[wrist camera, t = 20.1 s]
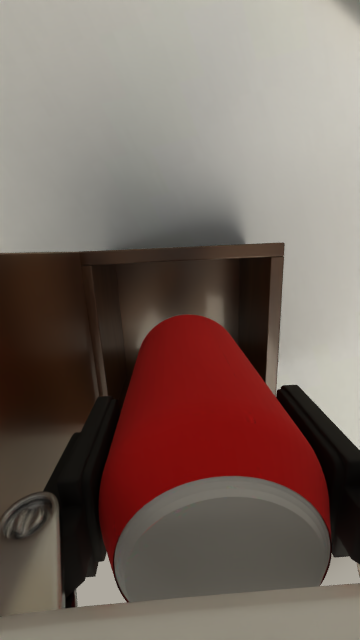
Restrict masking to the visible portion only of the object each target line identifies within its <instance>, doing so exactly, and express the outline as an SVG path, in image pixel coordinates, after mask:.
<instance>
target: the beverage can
mask: <svg viewBox="0 0 360 640" xmlns="http://www.w3.org/2000/svg"><path fill="white" fill-rule="evenodd" d="M98 507H99V522H100V528H101V533H102V537H103V541H104V544H105V548H106V551H107V554H108V557H109V561H110V564H111V568H112V571H113V574H114V578H115V581H116V583H117V586H118V588H119V590H120V592H121V594H122V596H123V597H124V599H125V600H126V601H127V603H128V602H139V601H151V600H162V599H173V598H184V597H196V596H208V595H220V594H232V593H244V592H256V591H268V590H280V589H293V588H305V587H318V586H320V585H321V583H322V582H323V580H324V578H325V576H326V574H327V571H328V568H329V565H330V560H331V553H332V544H331V525H330V507H329V494H328V489H327V484H326V480H325V477H324V474H323V471H322V468H321V465H320V463H319V461H318V459H317V456H316V454H315V452H314V450H313V449H312V447H311V445H310V444H309V442H308V441H307V439H306V438H305V437H304V435H303V434H302V432H301V431H300V430H299V428H298V427H297V426H296V424H295V423H294V421H293V420H292V419H291V417H290V416H289V415H288V413H287V412H286V411H285V409H284V408H283V406H282V405H281V404H280V402H279V401H278V400H277V398H276V397H275V395H274V394H273V393H272V391H271V390H270V389H269V387H268V386H267V384H266V383H265V382H264V380H263V379H262V378H261V376H260V375H259V374H258V372H257V371H256V369H255V368H254V367H253V365H252V364H251V363H250V361H249V360H248V358H247V357H246V356H245V354H244V353H243V352H242V350H241V349H240V347H239V346H238V345H237V343H236V342H235V341H234V339H233V338H232V337H231V335H230V334H229V333H228V331H227V330H226V329H225V328H224V327H222V326H221V325H220V324H218V323H217V322H215V321H213V320H211V319H209V318H206V317H203V316H199V315H189V314H185V315H177V316H173V317H170V318H168V319H166V320H164V321H162V322H160V323H159V324H157V325H156V326H155V327H154V328H153V329H152V330H151V331H150V332H149V333H148V334H147V336H146V337H145V339H144V340H143V342H142V344H141V347H140V350H139V353H138V356H137V360H136V363H135V366H134V370H133V373H132V376H131V380H130V383H129V387H128V390H127V393H126V397H125V400H124V403H123V407H122V410H121V413H120V417H119V420H118V423H117V427H116V430H115V433H114V437H113V440H112V444H111V447H110V450H109V454H108V457H107V460H106V464H105V467H104V470H103V474H102V478H101V483H100V489H99V504H98Z"/></svg>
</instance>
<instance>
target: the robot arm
mask: <svg viewBox="0 0 360 640" xmlns="http://www.w3.org/2000/svg"><path fill="white" fill-rule="evenodd" d="M276 398H277V400H278V401H279V402H280V404H281V405H282V406H283V408H284V409H285V411H286V412H287V413H288V415H289V416H290V417H291V419H292V420H293V421H294V423H295V424H296V426H297V427H298V428H299V430H300V431H301V432H302V434H303V435H304V437H305V438H306V439H307V441H308V442H309V444H310V445H311V447H312V449H313V450H314V452H315V454H316V456H317V459H318V461H319V463H320V465H321V468H322V471H323V474H324V477H325V480H326V484H327V489H328V494H329V507H330V525H331V544H332V554H333V556H334V557H346V556H350V557H351V559H352V560H354V561H355V562H357V567H358V572H359V576H360V450H359V449H358V448H357V447H356V446H355V445H354V444H353V443H352V442H351V441H350V440H349V439H348V438H347V437H346V436H345V435H344V434H343V432H342V431H341V430H340V429H339V428H338V427H337V426H336V425H335V424H334V423H333V422H332V421H331V420H330V419H329V418H328V417H327V416H326V415H325V414H324V412H323V411H322V410H321V409H320V408H319V407H318V406H317V405H316V404H315V403H314V402H313V401H312V400H311V399H310V398H309V397H308V396H307V395H306V394H305V393H304V391H303V390H302V389H301V388H300V387H299V386H298V385H284V386H282V387H281V389H278V390H277V395H276ZM119 417H120V409H119V402H118V399H114V398H113V396H102V397H98V398H97V400H96V402H95V404H94V406H93V408H92V410H91V412H90V414H89V416H88V418H87V420H86V422H85V424H84V426H83V428H82V430H81V432H76V433H74V434H73V435H72V437H71V438H70V440H69V442H68V444H67V446H66V448H65V450H64V452H63V454H62V456H61V458H60V459H59V461H58V463H57V465H56V467H55V469H54V471H53V473H52V475H51V477H50V479H49V480H48V482H47V484H46V486H45V488H44V490H43V492H36V493H32V494H29V495H27V496H25V497H23V498H21V499H19V500H18V501H16V502H15V503H14V504H12V505H11V506H10V507H9V508H8V509H7V510H6V511H5V512H4V513H3V515H2V516H1V518H0V640H360V583H358V584H344V585H333V586H318V587H305V588H293V589H280V590H268V591H256V592H244V593H232V594H220V595H208V596H196V597H184V598H173V599H162V600H151V601H139V602H128V603H117V604H107V605H95V606H84V607H77V593H76V588H77V587H78V586H79V585H80V584H81V583H82V582H84V581H85V577H93V576H95V574H96V571H97V566H98V562H100V561H104V559H105V556H106V552H107V551H106V548H105V544H104V541H103V537H102V533H101V528H100V522H99V507H98V504H99V489H100V483H101V478H102V474H103V470H104V467H105V464H106V460H107V457H108V454H109V450H110V447H111V444H112V440H113V437H114V433H115V430H116V427H117V423H118V420H119Z"/></svg>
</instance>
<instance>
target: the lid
mask: <svg viewBox="0 0 360 640" xmlns="http://www.w3.org/2000/svg"><path fill="white" fill-rule="evenodd" d="M98 397H99V392H98V385H97V378H96V370H95V363H94V356H93V349H92V342H91V334H90V327H89V320H88V313H87V306H86V299H85V291H84V284H83V277H82V270H81V263H80V255H79V252H25V253H0V518H1V516H2V515H3V513H4V512H5V511H6V510H7V509H8V508H9V507H10V506H11V505H12V504H14V503H15V502H16V501H18V500H19V499H21V498H23V497H25V496H27V495H29V494H32V493H36V492H43V490H44V488H45V486H46V484H47V482H48V480H49V479H50V477H51V475H52V473H53V471H54V469H55V467H56V465H57V463H58V461H59V459H60V458H61V456H62V454H63V452H64V450H65V448H66V446H67V444H68V442H69V440H70V438H71V437H72V435H73V434H74V433H76V432H81V430H82V428H83V426H84V424H85V422H86V420H87V418H88V416H89V414H90V412H91V410H92V408H93V406H94V404H95V402H96V400H97V398H98Z"/></svg>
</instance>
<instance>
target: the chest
mask: <svg viewBox="0 0 360 640" xmlns="http://www.w3.org/2000/svg"><path fill="white" fill-rule="evenodd" d="M79 255H80V263H81V270H82V277H83V284H84V291H85V299H86V306H87V313H88V320H89V327H90V334H91V342H92V349H93V356H94V363H95V370H96V378H97V385H98V392H99V397H102V396H113V398H114V399H118V402H119V409H120V413H121V410H122V407H123V403H124V400H125V397H126V393H127V390H128V387H129V383H130V380H131V376H132V373H133V370H134V366H135V363H136V360H137V356H138V353H139V350H140V347H141V344H142V342H143V340H144V339H145V337H146V336H147V334H148V333H149V332H150V331H151V330H152V329H153V328H154V327H155V326H156V325H157V324H159V323H160V322H162V321H164V320H166V319H168V318H170V317H173V316H177V315H185V314H189V315H199V316H203V317H206V318H209V319H211V320H213V321H215V322H217V323H218V324H220V325H221V326H222V327H224V328H225V329H226V330H227V331H228V333H229V334H230V335H231V337H232V338H233V339H234V341H235V342H236V343H237V345H238V346H239V347H240V349H241V350H242V352H243V353H244V354H245V356H246V357H247V358H248V360H249V361H250V363H251V364H252V365H253V367H254V368H255V369H256V371H257V372H258V374H259V375H260V376H261V378H262V379H263V380H264V382H265V383H266V384H267V386H268V387H269V389H270V390H271V391H272V393H273V394H274V395H275V397H276V385H277V367H278V350H279V333H280V316H281V298H282V281H283V264H284V257H283V256H284V243H262V244H240V245H217V246H195V247H173V248H151V249H128V250H106V251H84V252H79Z"/></svg>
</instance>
